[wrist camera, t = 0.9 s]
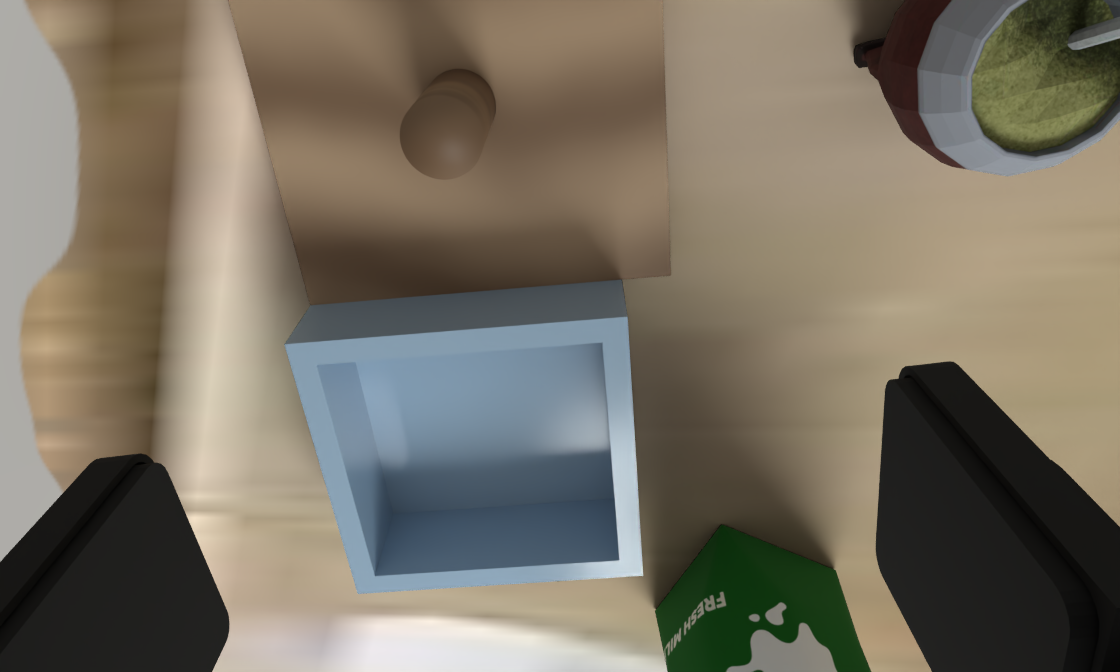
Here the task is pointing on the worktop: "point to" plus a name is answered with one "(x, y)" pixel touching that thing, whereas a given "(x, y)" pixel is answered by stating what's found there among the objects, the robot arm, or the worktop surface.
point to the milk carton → (757, 612)
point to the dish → (475, 435)
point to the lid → (463, 141)
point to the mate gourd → (1000, 79)
